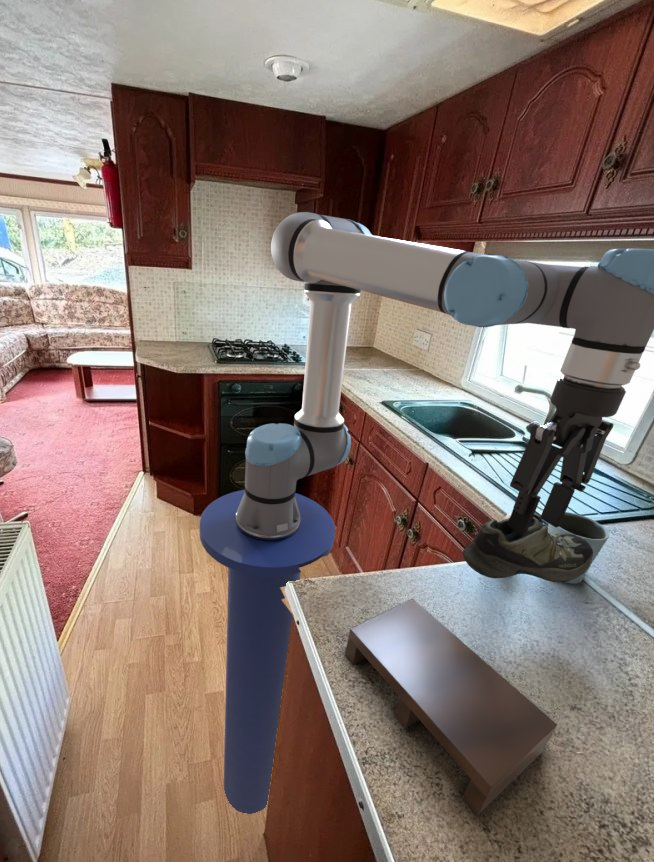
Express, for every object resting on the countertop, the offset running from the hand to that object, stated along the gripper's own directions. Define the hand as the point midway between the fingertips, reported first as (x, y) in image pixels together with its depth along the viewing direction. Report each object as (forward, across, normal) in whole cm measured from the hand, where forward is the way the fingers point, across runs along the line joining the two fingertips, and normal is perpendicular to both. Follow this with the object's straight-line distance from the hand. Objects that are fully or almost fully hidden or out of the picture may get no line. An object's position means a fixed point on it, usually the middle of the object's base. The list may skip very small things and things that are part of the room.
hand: (533, 525), depth 63 cm
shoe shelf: (+22, -19, -7) cm, 30 cm away
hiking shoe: (+9, +2, 0) cm, 9 cm away
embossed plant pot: (+23, +28, +8) cm, 37 cm away
